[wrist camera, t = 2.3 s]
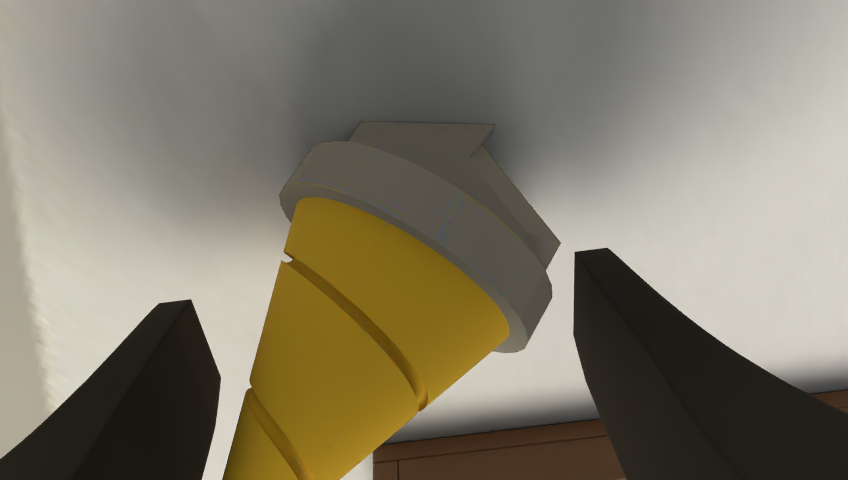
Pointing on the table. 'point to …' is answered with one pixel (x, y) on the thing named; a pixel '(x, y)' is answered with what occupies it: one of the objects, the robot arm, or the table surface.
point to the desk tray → (518, 453)
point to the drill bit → (386, 294)
